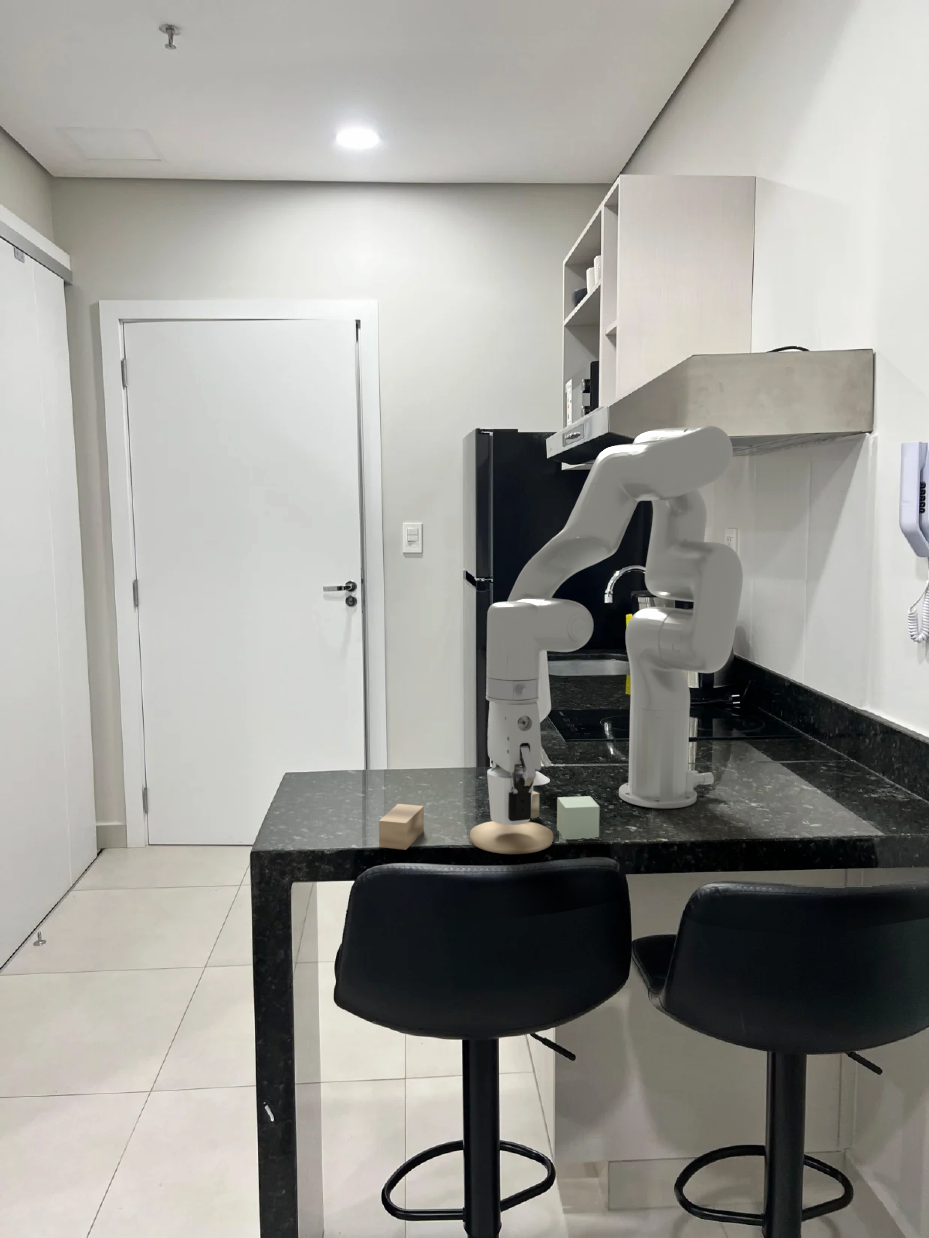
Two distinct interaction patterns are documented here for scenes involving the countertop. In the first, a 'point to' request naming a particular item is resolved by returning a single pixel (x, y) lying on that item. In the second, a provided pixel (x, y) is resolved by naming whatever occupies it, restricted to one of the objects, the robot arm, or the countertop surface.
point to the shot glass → (501, 795)
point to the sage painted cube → (577, 817)
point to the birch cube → (535, 805)
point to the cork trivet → (511, 837)
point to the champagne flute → (543, 704)
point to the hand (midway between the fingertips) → (510, 811)
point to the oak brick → (401, 826)
